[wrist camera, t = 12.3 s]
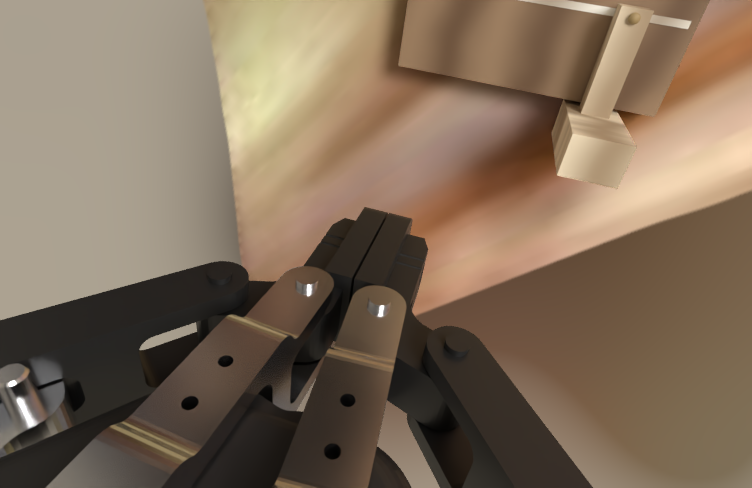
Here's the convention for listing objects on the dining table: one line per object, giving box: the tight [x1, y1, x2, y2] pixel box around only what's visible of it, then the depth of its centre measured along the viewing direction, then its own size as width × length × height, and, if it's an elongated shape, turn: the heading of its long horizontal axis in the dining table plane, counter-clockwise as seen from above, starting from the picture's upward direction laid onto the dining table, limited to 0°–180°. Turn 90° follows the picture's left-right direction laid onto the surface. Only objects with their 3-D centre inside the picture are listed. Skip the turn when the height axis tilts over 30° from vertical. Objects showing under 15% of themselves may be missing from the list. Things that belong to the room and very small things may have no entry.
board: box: [398, 0, 710, 117], centre depth 35 cm, size 20×8×2 cm, turn 82°
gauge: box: [551, 3, 654, 189], centre depth 32 cm, size 4×10×9 cm, turn 172°
